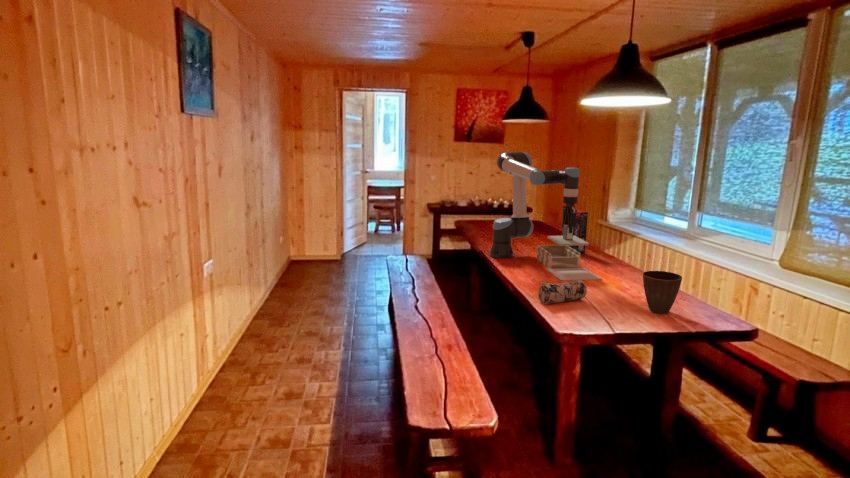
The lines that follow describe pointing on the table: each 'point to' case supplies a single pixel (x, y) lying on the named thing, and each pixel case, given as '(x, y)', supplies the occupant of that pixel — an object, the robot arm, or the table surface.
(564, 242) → the sliding lid
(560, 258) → the wooden box
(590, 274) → the grey tray
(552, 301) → the pencil case
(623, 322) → the table surface
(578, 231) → the graphics card box
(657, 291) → the plant pot
